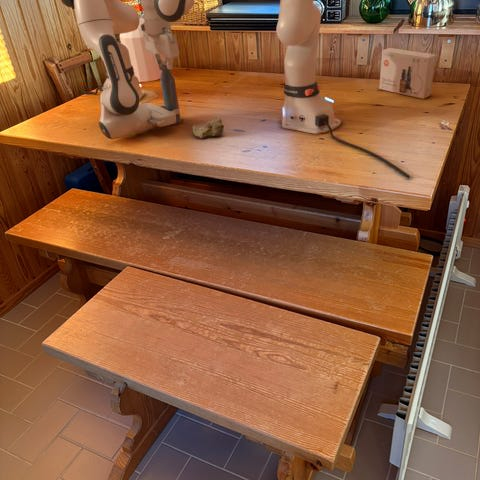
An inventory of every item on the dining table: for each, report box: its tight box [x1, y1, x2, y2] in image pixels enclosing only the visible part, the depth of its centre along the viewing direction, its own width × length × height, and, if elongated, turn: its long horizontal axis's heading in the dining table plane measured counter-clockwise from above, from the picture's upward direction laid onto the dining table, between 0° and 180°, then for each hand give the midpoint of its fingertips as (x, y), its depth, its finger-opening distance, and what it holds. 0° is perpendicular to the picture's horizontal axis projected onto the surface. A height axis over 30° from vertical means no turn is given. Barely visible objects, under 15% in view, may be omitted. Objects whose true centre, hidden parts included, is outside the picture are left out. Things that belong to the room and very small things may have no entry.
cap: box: [159, 60, 168, 70], centre depth 171 cm, size 4×4×2 cm
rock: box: [192, 116, 225, 139], centre depth 168 cm, size 11×6×10 cm
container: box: [119, 17, 167, 83], centre depth 235 cm, size 21×21×28 cm
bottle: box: [159, 69, 182, 126], centre depth 177 cm, size 6×6×22 cm
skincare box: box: [378, 47, 437, 100], centre depth 184 cm, size 21×6×16 cm, turn 40°
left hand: (174, 108), depth 181 cm, fingers closed on bottle, 5 cm apart
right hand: (164, 67), depth 171 cm, fingers open, 7 cm apart
